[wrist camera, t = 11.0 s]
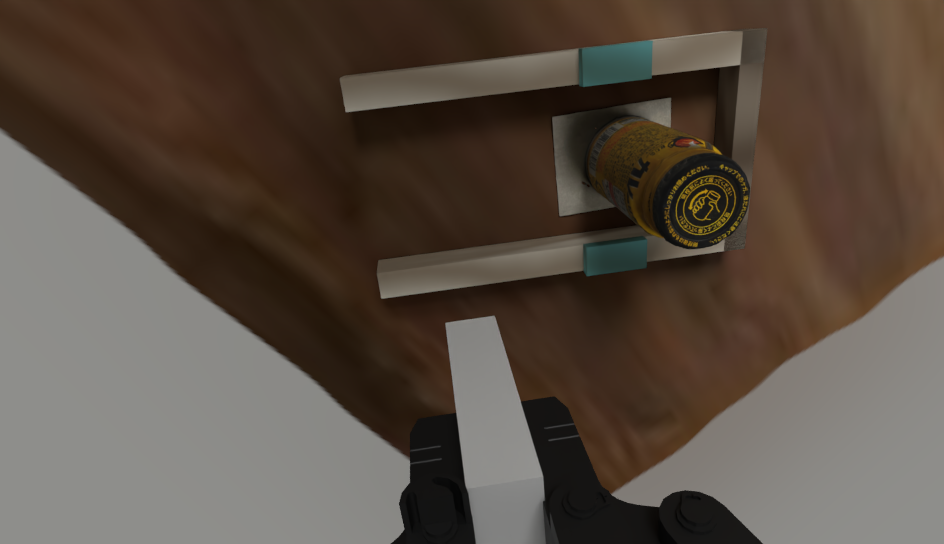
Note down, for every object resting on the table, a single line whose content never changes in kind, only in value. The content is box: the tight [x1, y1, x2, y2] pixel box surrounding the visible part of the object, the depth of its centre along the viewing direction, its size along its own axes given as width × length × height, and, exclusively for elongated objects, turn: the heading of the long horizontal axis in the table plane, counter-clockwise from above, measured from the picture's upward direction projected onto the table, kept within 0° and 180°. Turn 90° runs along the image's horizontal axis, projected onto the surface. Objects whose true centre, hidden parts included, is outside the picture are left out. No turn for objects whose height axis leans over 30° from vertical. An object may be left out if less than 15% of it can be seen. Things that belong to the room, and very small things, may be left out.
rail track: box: [339, 28, 767, 299], centre depth 38 cm, size 15×27×3 cm, turn 96°
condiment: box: [552, 98, 750, 249], centre depth 34 cm, size 7×8×12 cm
